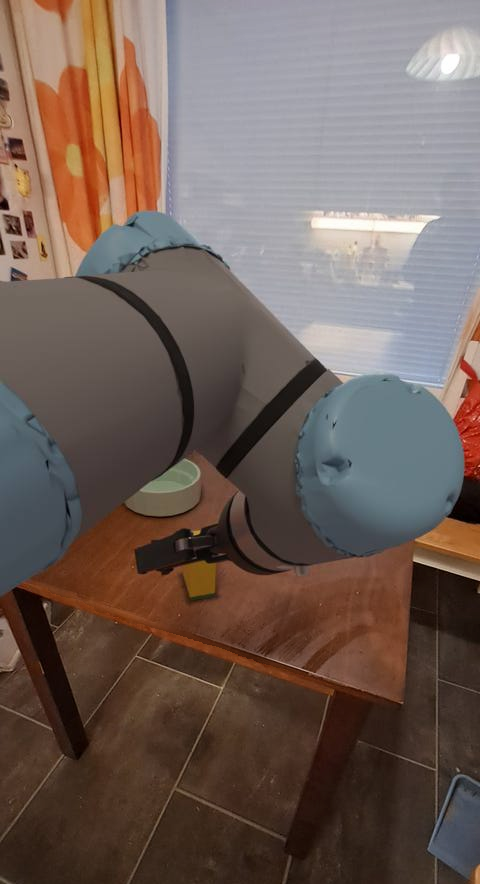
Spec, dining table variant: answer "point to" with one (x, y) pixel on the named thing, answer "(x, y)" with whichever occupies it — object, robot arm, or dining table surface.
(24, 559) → the robot arm
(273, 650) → the dining table surface
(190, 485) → the bowl
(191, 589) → the sponge
